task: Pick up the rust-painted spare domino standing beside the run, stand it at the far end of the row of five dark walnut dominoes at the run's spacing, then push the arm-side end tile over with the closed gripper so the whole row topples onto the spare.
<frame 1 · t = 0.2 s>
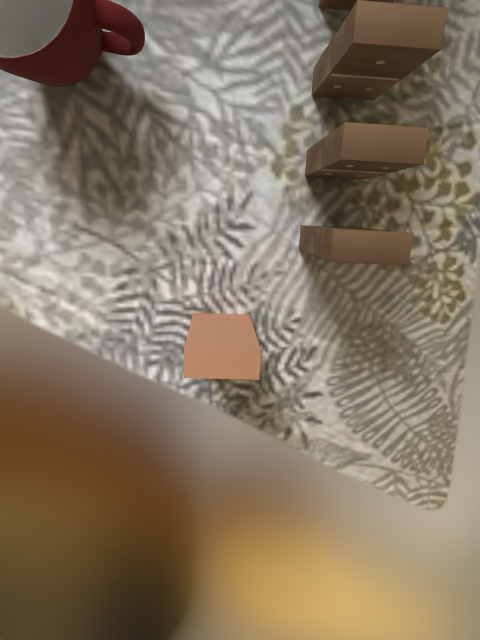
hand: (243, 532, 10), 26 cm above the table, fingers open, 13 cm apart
domino 3: (344, 83, 31), on the table
mug: (85, 51, 30), on the table
domino 5: (328, 238, 34), on the table
domino 4: (335, 164, 33), on the table
spare domino: (221, 324, 36), on the table
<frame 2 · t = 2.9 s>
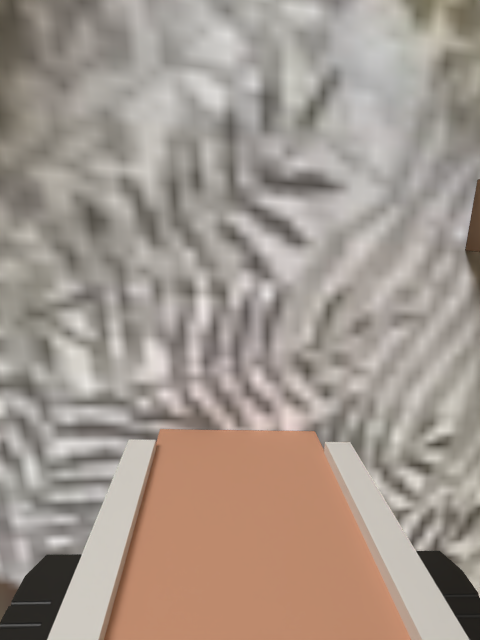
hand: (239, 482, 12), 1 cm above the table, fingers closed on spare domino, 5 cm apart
spare domino: (237, 457, 13), on the table, touching gripper
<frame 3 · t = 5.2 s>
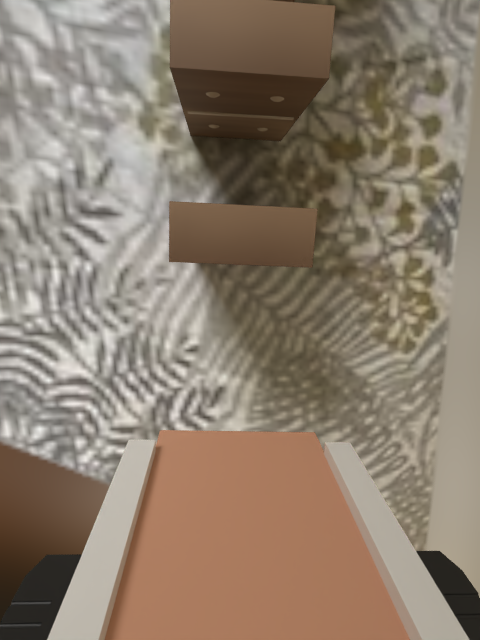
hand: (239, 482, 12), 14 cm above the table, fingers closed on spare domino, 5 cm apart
domino 5: (232, 230, 23), on the table
domino 4: (236, 118, 22), on the table
spare domino: (237, 459, 13), point 12 cm above the table, touching gripper
when the fingers open (2 cm above the table, at t = 7.9 s): spare domino stays where it is, on the table.
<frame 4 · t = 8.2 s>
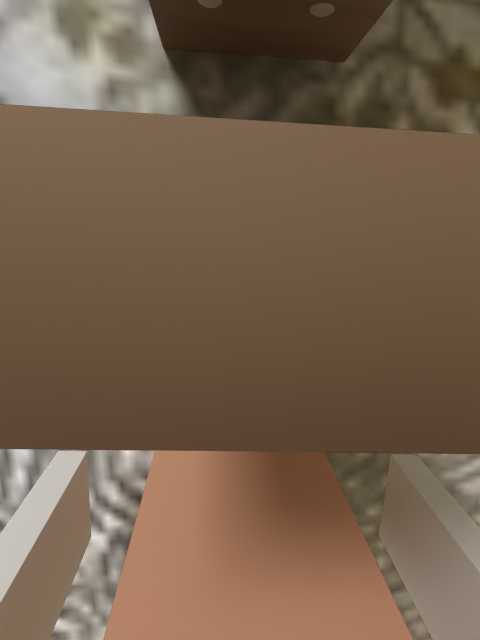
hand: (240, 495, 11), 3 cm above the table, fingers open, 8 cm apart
domino 5: (246, 240, 12), on the table
domino 4: (257, 13, 11), on the table
spare domino: (236, 447, 14), on the table
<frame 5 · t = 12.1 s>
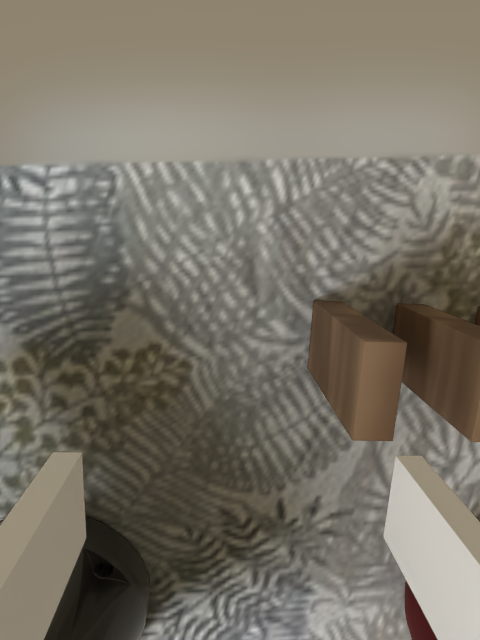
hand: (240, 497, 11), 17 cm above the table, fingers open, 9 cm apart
domino 1: (324, 335, 29), on the table
domino 2: (405, 337, 29), on the table
mug: (428, 563, 34), on the table
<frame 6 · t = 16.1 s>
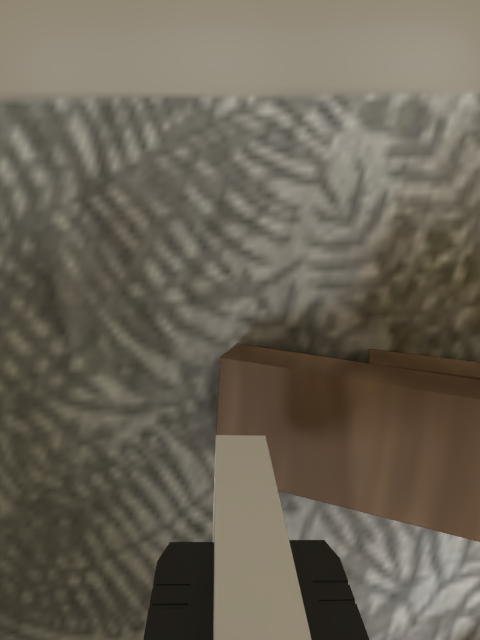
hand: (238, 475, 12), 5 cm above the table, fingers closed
domino 1: (225, 407, 17), point 1 cm above the table, tilted 69°, touching domino 2
domino 2: (362, 412, 17), point 1 cm above the table, tilted 70°, touching domino 1, domino 3
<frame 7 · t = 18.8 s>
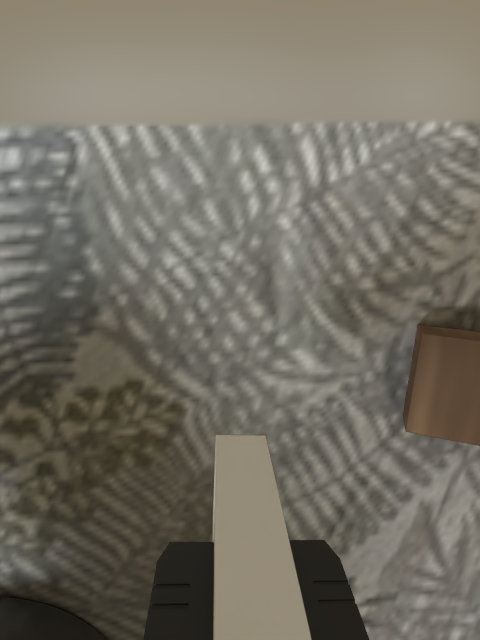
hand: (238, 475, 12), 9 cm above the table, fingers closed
domino 1: (411, 377, 20), point 1 cm above the table, tilted 69°, touching domino 2
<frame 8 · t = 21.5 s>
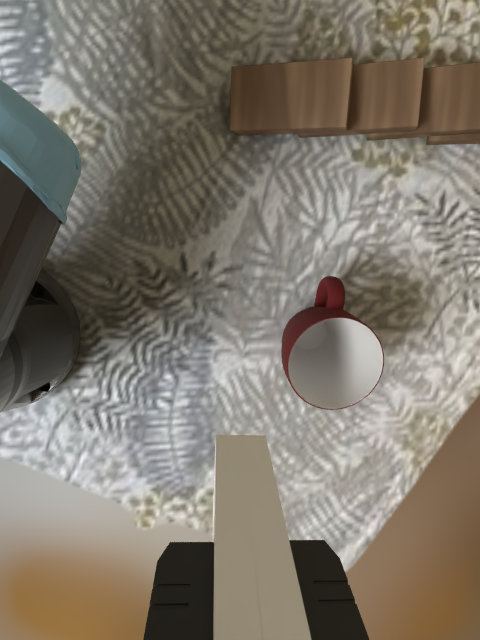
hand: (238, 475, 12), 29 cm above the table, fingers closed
domino 3: (368, 108, 36), point 1 cm above the table, tilted 69°, touching domino 2, domino 4
domino 1: (234, 102, 36), point 1 cm above the table, tilted 69°, touching domino 2
domino 2: (299, 105, 36), point 1 cm above the table, tilted 71°, touching domino 1, domino 3
mug: (308, 320, 42), on the table
domino 4: (431, 113, 37), point 1 cm above the table, tilted 68°, touching domino 3, domino 5
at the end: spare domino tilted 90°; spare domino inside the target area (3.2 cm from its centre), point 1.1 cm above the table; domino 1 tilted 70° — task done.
